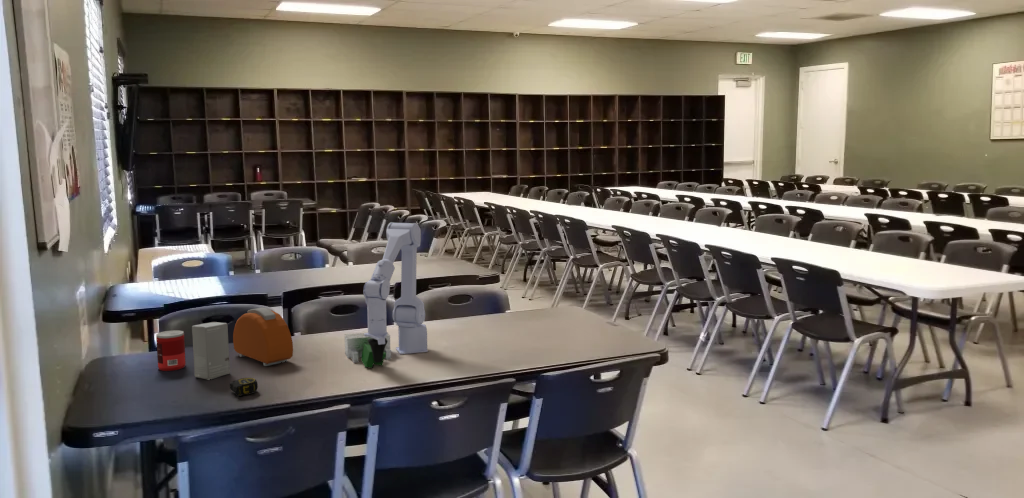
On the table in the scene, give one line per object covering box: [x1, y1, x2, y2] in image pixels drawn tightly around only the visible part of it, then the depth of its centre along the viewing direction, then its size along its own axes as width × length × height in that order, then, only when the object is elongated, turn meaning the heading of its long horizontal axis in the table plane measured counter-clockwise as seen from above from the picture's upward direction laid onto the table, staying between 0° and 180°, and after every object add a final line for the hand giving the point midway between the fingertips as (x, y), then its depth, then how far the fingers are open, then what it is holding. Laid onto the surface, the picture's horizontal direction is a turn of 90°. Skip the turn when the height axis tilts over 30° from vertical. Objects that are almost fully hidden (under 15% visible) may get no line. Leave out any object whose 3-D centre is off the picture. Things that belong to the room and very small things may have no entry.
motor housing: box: [344, 332, 392, 364], centre depth 248 cm, size 14×12×7 cm
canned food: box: [155, 329, 187, 372], centre depth 234 cm, size 8×8×11 cm
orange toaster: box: [232, 307, 294, 367], centre depth 244 cm, size 23×9×17 cm, turn 47°
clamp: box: [360, 344, 386, 369], centre depth 239 cm, size 11×6×8 cm, turn 13°
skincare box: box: [191, 321, 231, 381], centre depth 226 cm, size 8×7×16 cm
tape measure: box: [229, 377, 259, 397], centre depth 210 cm, size 7×7×4 cm
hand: (377, 361), depth 233 cm, fingers closed
